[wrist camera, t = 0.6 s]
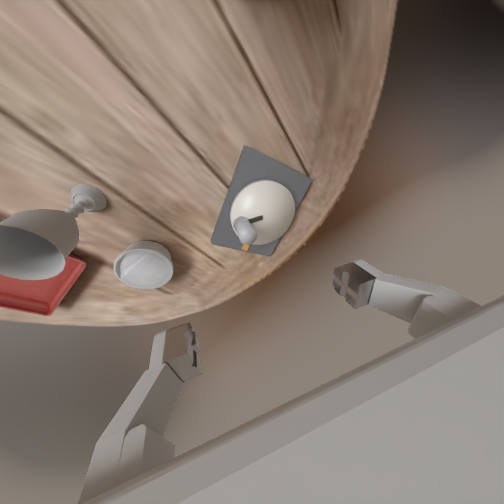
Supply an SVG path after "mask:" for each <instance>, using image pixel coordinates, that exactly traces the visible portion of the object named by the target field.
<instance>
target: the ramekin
mask: <svg viewBox="0 0 504 504" xmlns="http://www.w3.org/2000/svg"><path fill="white" fill-rule="evenodd" d="M173 271H174V267H173V263H172V260H171V255H170V253H169V251H168V250H167V249H166V248H165V247H164V246H162V245H161V244H159V243H156V242H153V241H139V242H135V243H133V244H131V245H130V246H129V247H127V248H126V249H125V250H124V251H123V252H122V253H120V254H119V255H118V257H117V258H116V260H115V262H114V272H115V274H116V276H117V277H118V279H119V280H120V281H122V282H123V283H124V284H126V285H128V286H130V287H133V288H137V289H154V288H158V287H161V286H163V285H165V284H166V283H167V282H169V280H170V279H171V278H172V275H173Z"/></svg>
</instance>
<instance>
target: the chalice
mask: <svg viewBox="0 0 504 504" xmlns="http://www.w3.org/2000/svg"><path fill="white" fill-rule="evenodd" d="M71 201H72V203H71V204H70V208H66V209H64V211H60V210H49V209H38V210H27V211H22V212H19V213H16V214H14V215H12V216H10V217H8V218H7V219H5V220H3V221H1V222H0V274H1V275H4V276H7V277H12V278H17V279H24V280H41V279H48V278H51V277H54V276H57V275H58V274H59V273H60V272H62V271H63V269H64V266H65V264H66V263H65V259H66V258H67V256H68V255H69V254H70V253H71V252H72V251H73V249H74V248H75V247H76V246H77V244H78V241H79V230H78V226H77V223H76V220H75V218H76V217H78V213H83V212H84V211H87V212H94V211H100V210H103V209H104V208H105V206H106V204H107V203H106V198H105V195H104V194H103V193H102V192H101V191H100V190H99V189H97V188H96V187H94V186H91V185H87V184H79V185H76V186H74V187H73V188H72V190H71Z"/></svg>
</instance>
